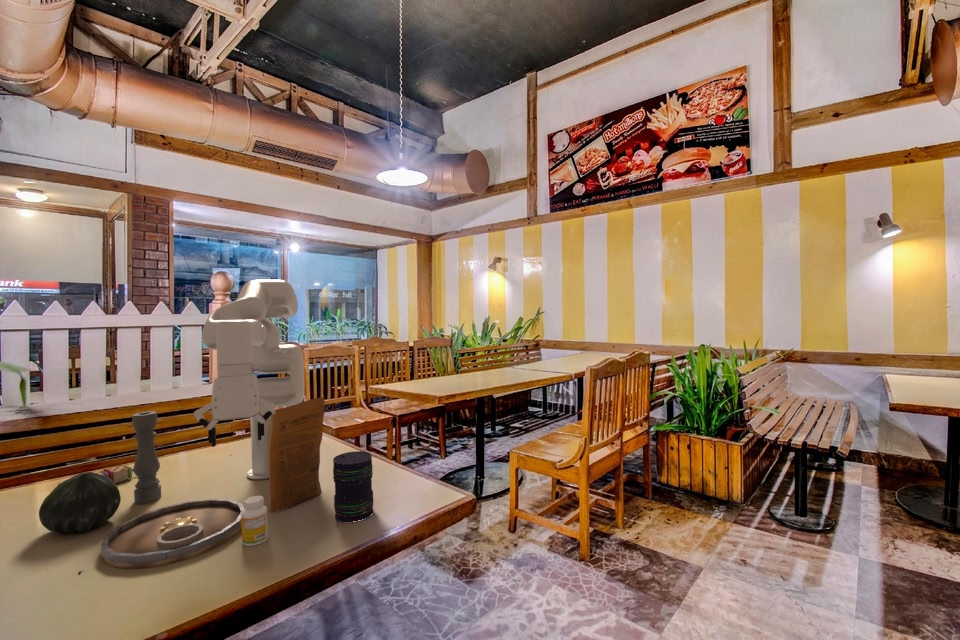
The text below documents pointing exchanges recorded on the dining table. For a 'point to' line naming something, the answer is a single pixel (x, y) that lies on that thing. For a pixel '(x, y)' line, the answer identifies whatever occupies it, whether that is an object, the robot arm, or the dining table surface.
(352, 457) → the black ridged cylinder
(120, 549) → the carrier plate
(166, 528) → the sun gear
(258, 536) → the supplement bottle
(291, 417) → the pancake mix bag
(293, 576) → the dining table surface
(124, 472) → the skewer
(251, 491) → the dining table surface
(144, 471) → the candle holder
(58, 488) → the squash
